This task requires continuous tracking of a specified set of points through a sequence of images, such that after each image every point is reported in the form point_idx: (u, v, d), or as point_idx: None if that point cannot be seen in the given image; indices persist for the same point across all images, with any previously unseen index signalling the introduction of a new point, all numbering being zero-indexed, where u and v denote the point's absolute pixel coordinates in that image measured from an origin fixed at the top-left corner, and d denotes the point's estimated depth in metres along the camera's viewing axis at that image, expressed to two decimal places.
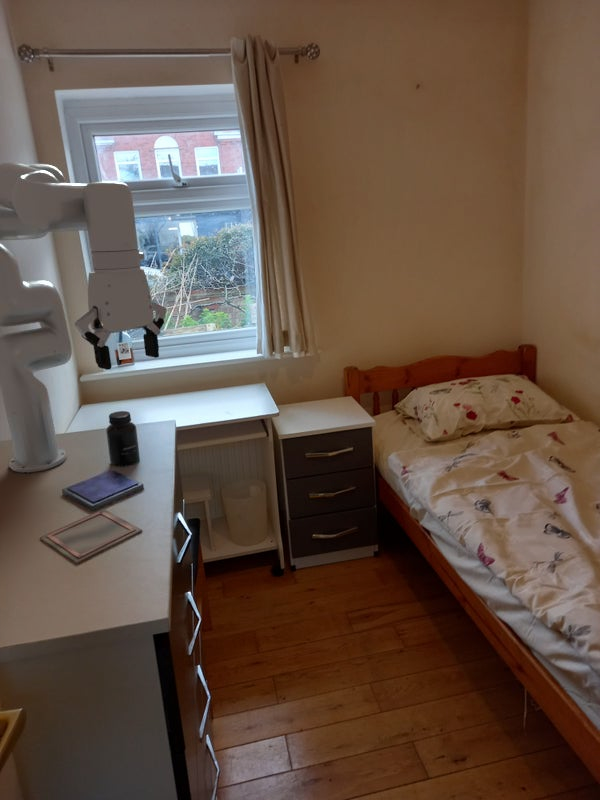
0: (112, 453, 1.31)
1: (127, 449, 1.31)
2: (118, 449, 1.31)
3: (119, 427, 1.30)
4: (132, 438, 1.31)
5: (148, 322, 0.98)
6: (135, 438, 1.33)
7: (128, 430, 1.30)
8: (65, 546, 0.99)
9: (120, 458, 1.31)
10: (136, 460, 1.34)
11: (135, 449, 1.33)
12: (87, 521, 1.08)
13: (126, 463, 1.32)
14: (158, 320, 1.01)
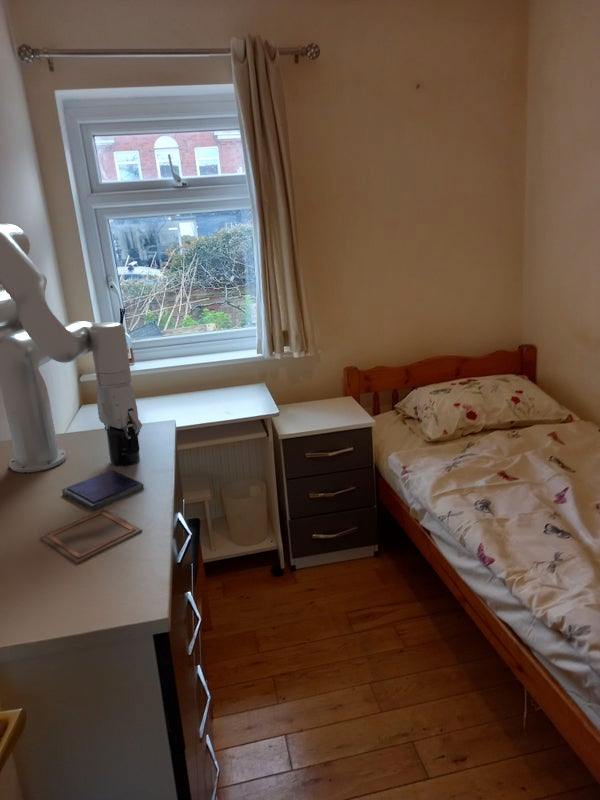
0: (112, 453, 1.31)
1: None
2: (118, 449, 1.31)
3: None
4: None
5: None
6: None
7: (128, 430, 1.30)
8: (65, 546, 0.99)
9: (120, 458, 1.31)
10: (136, 460, 1.34)
11: None
12: (87, 521, 1.08)
13: (126, 463, 1.32)
14: None
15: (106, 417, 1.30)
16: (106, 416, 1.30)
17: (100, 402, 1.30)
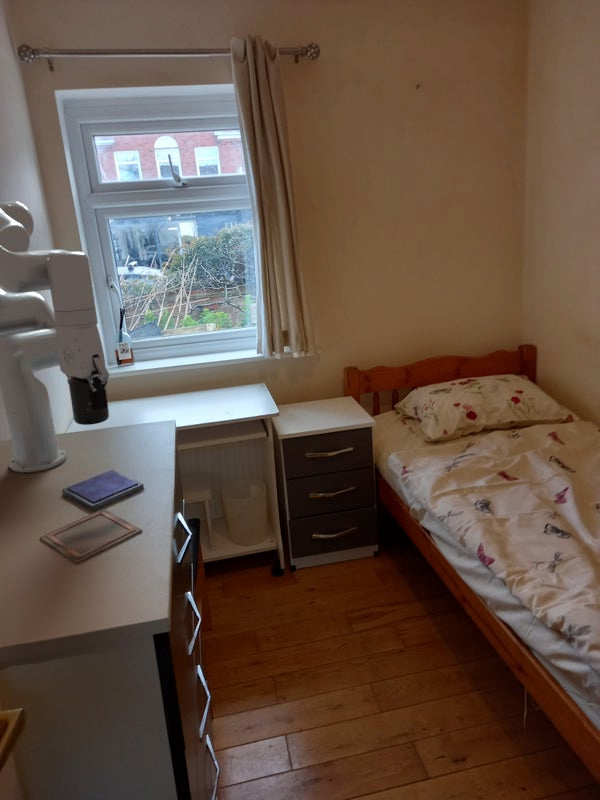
0: (75, 409, 1.12)
1: None
2: (82, 403, 1.11)
3: None
4: None
5: None
6: None
7: (94, 381, 1.11)
8: (65, 546, 0.99)
9: (85, 414, 1.11)
10: (104, 418, 1.14)
11: None
12: (87, 521, 1.08)
13: (92, 421, 1.12)
14: None
15: (68, 365, 1.10)
16: (67, 365, 1.10)
17: (60, 348, 1.10)
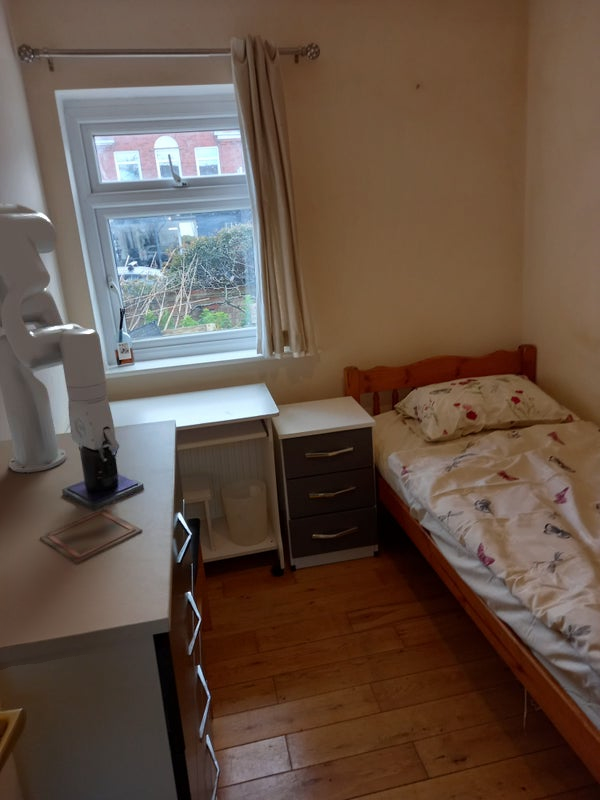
0: (86, 477, 1.16)
1: None
2: (93, 472, 1.15)
3: None
4: None
5: None
6: None
7: (104, 451, 1.15)
8: (65, 546, 0.99)
9: (95, 482, 1.16)
10: (114, 484, 1.18)
11: None
12: (87, 521, 1.08)
13: (103, 488, 1.17)
14: None
15: (79, 436, 1.15)
16: (79, 435, 1.15)
17: (72, 419, 1.15)
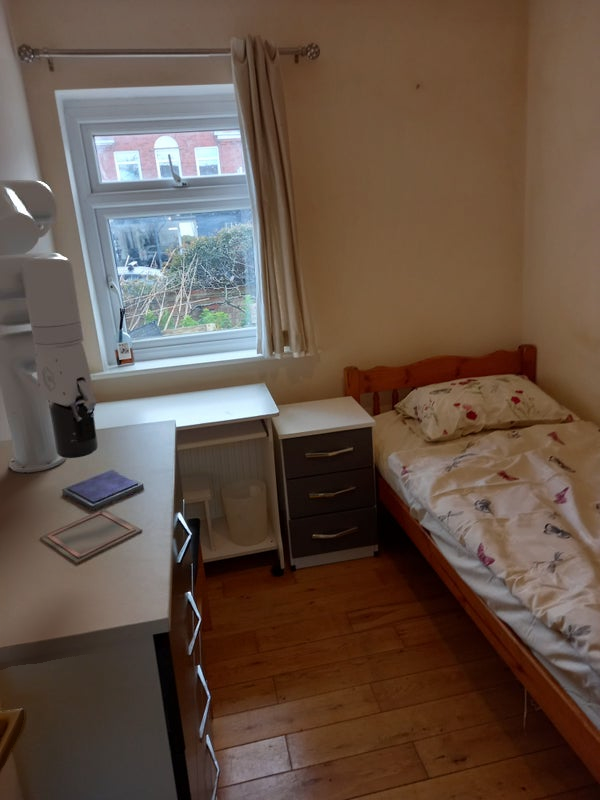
0: (58, 440, 0.95)
1: None
2: (65, 434, 0.94)
3: None
4: None
5: None
6: None
7: (79, 408, 0.94)
8: (65, 546, 0.99)
9: (69, 446, 0.95)
10: (92, 449, 0.97)
11: None
12: (87, 521, 1.08)
13: (78, 453, 0.96)
14: None
15: (48, 390, 0.93)
16: (48, 389, 0.94)
17: (40, 370, 0.94)
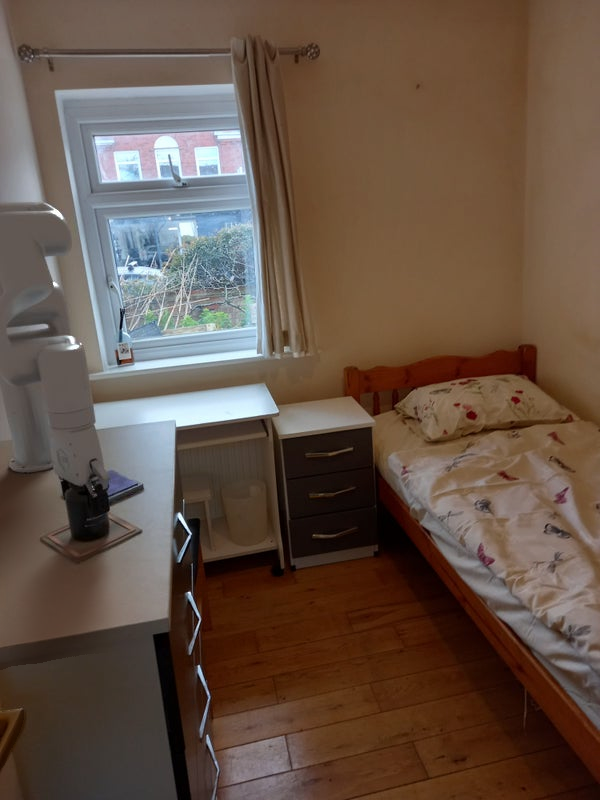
0: (72, 525, 1.00)
1: (92, 520, 1.00)
2: (79, 520, 0.99)
3: (81, 492, 0.99)
4: None
5: None
6: None
7: None
8: (65, 546, 0.99)
9: (83, 531, 1.00)
10: (105, 532, 1.02)
11: (103, 518, 1.02)
12: None
13: (91, 537, 1.01)
14: None
15: (62, 469, 0.98)
16: (62, 468, 0.98)
17: (54, 449, 0.98)
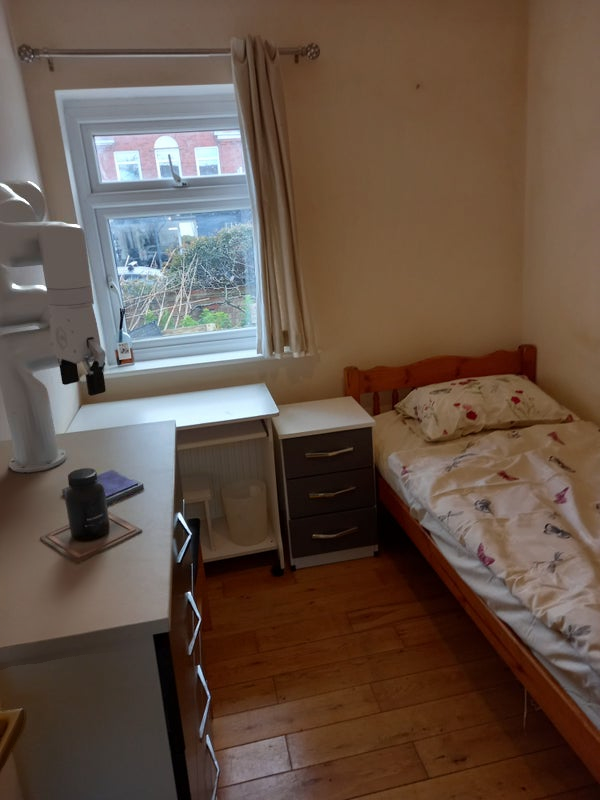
0: (72, 525, 1.00)
1: (92, 520, 1.00)
2: (79, 520, 0.99)
3: (82, 492, 0.99)
4: (98, 505, 1.00)
5: None
6: (103, 504, 1.01)
7: (93, 495, 0.99)
8: (65, 546, 0.99)
9: (83, 531, 1.00)
10: (105, 532, 1.02)
11: (103, 518, 1.02)
12: None
13: (91, 537, 1.01)
14: None
15: (61, 348, 1.02)
16: (60, 347, 1.02)
17: (53, 329, 1.02)
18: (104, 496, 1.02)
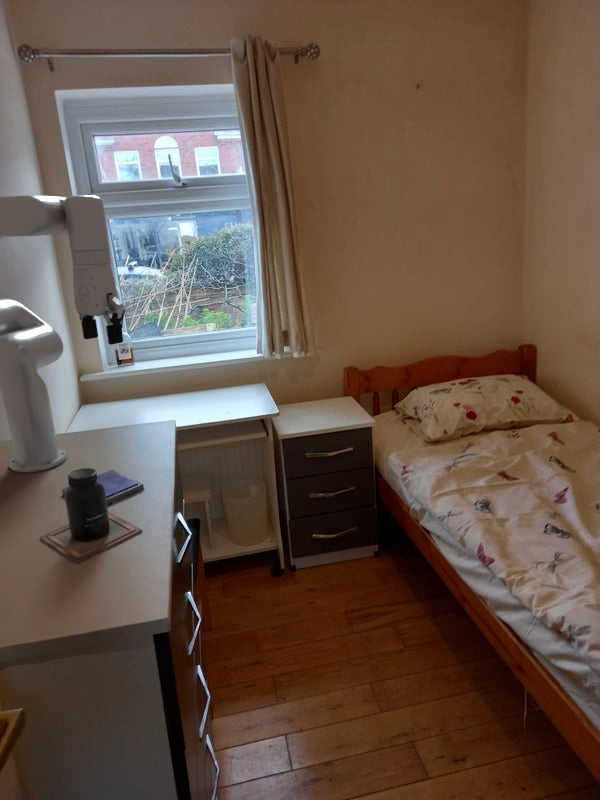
0: (72, 525, 1.00)
1: (92, 520, 1.00)
2: (79, 520, 0.99)
3: (82, 492, 0.99)
4: (98, 505, 1.00)
5: None
6: (103, 504, 1.01)
7: (93, 495, 0.99)
8: (65, 546, 0.99)
9: (83, 531, 1.00)
10: (105, 532, 1.02)
11: (103, 518, 1.02)
12: None
13: (91, 537, 1.01)
14: None
15: (84, 304, 1.18)
16: (83, 303, 1.18)
17: (77, 288, 1.18)
18: (104, 496, 1.02)
